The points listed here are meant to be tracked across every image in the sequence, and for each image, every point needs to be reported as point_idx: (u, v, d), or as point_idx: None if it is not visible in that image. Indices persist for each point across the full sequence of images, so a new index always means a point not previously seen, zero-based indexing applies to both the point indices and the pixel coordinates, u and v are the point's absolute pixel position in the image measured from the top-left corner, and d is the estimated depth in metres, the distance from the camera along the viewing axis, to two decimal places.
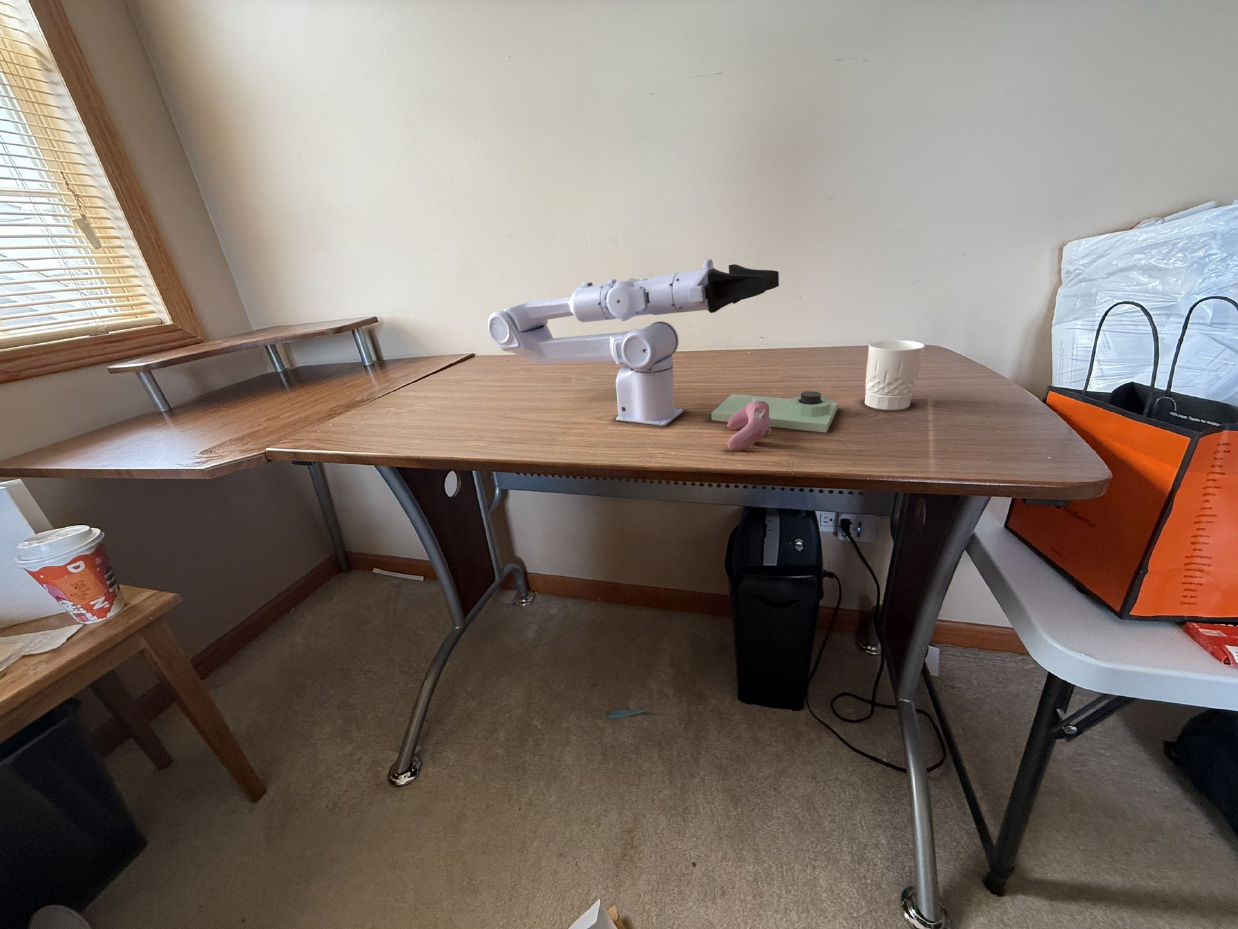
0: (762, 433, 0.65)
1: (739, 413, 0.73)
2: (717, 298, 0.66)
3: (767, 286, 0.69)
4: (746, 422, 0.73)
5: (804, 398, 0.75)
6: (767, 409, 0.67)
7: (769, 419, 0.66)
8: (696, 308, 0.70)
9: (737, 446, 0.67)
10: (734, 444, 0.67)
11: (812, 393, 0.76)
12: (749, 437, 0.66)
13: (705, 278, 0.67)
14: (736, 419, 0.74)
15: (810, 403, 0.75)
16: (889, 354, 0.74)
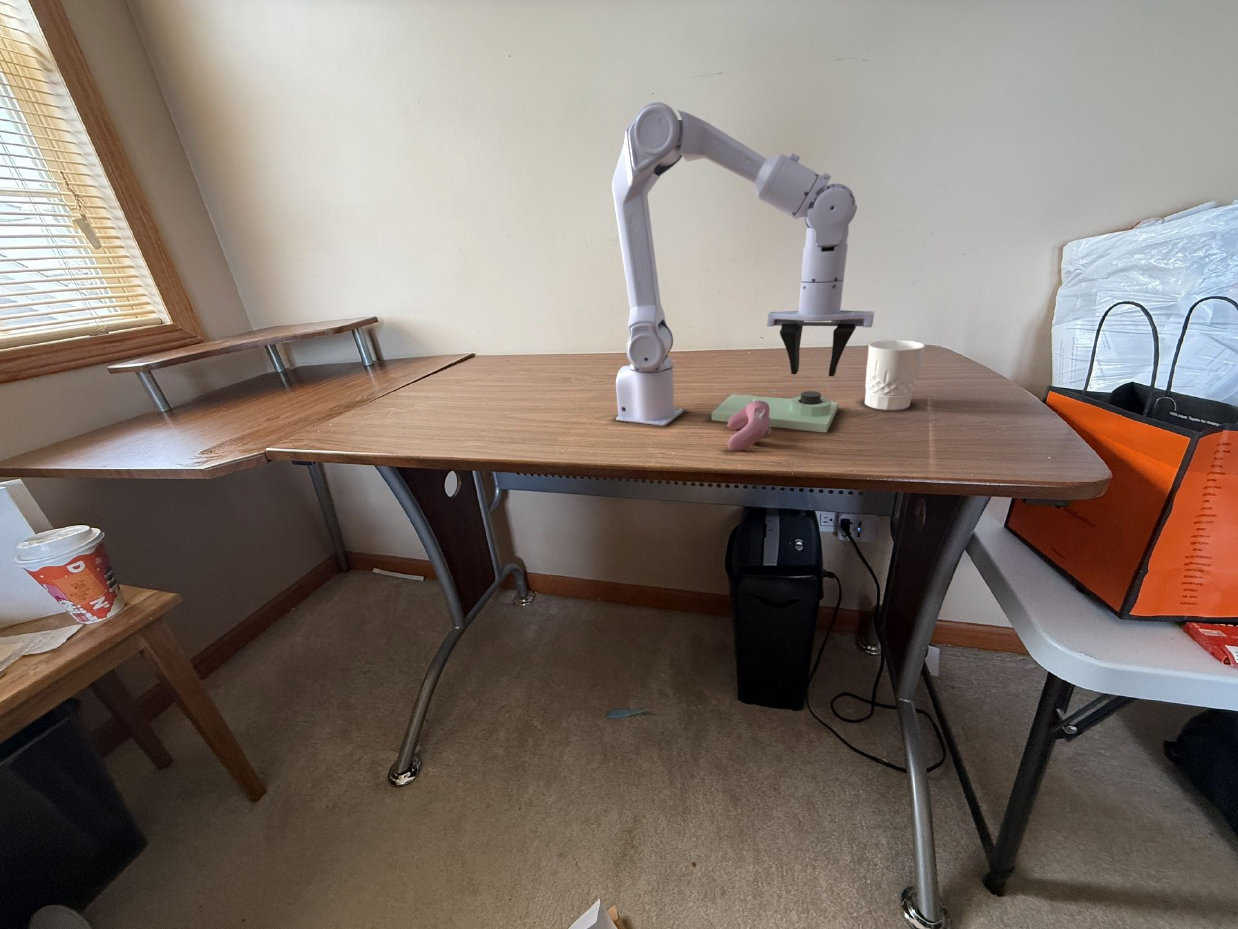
0: (762, 433, 0.65)
1: (739, 413, 0.73)
2: None
3: (796, 364, 0.74)
4: (746, 422, 0.73)
5: (804, 398, 0.75)
6: (767, 409, 0.67)
7: (769, 419, 0.66)
8: (830, 304, 0.67)
9: (737, 446, 0.67)
10: (734, 444, 0.67)
11: (812, 393, 0.76)
12: (749, 437, 0.66)
13: None
14: (736, 419, 0.74)
15: (810, 403, 0.75)
16: (889, 354, 0.74)
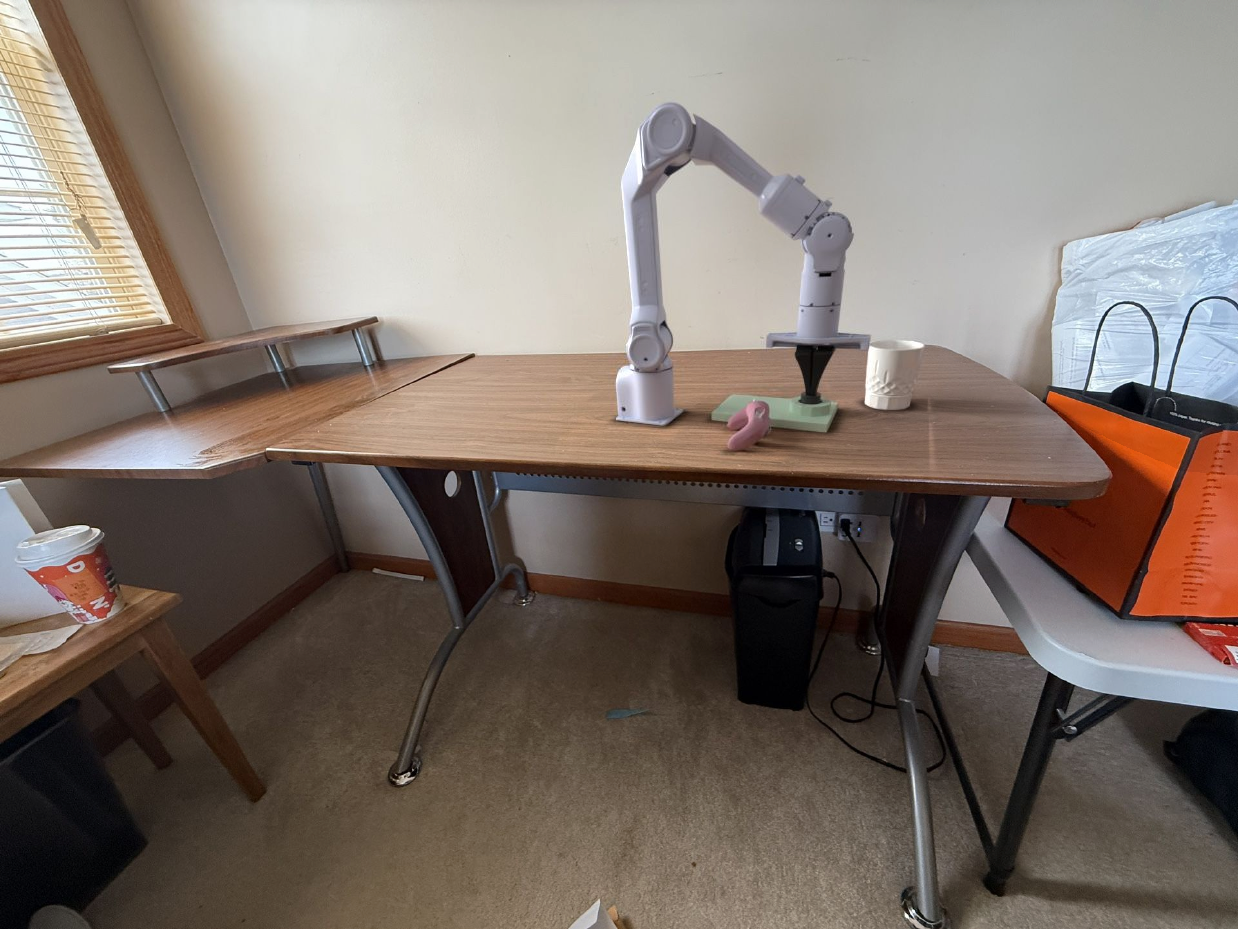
0: (762, 433, 0.65)
1: (739, 413, 0.73)
2: None
3: None
4: (746, 422, 0.73)
5: (804, 398, 0.75)
6: (767, 409, 0.67)
7: (769, 419, 0.66)
8: (827, 328, 0.69)
9: (737, 446, 0.67)
10: (734, 444, 0.67)
11: None
12: (749, 437, 0.66)
13: None
14: (736, 419, 0.74)
15: (810, 403, 0.75)
16: (889, 354, 0.74)
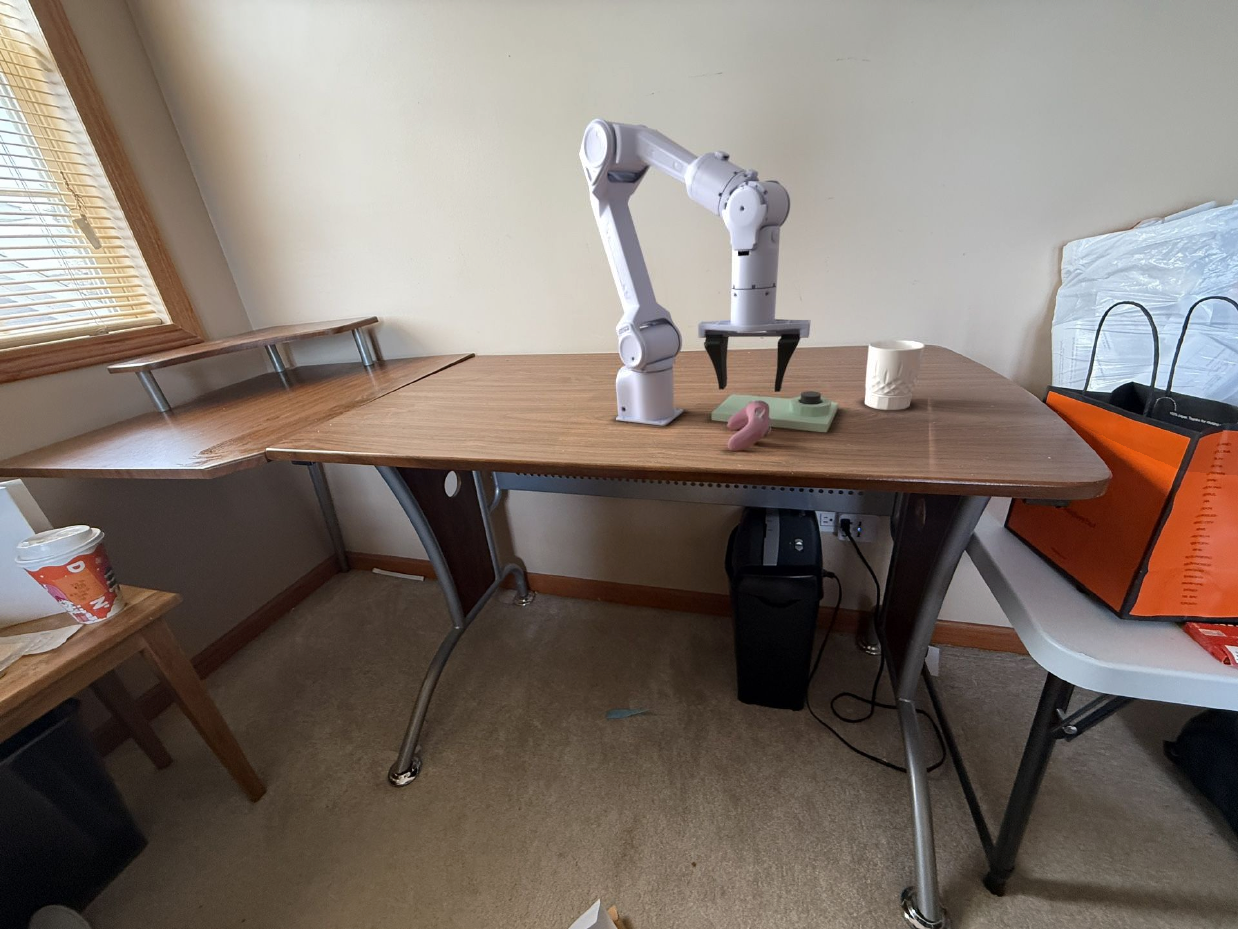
0: (762, 433, 0.65)
1: (739, 413, 0.73)
2: None
3: (723, 379, 0.68)
4: (746, 422, 0.73)
5: (804, 398, 0.75)
6: (767, 409, 0.67)
7: (769, 419, 0.66)
8: (763, 313, 0.61)
9: (737, 446, 0.67)
10: (734, 444, 0.67)
11: (812, 393, 0.76)
12: (749, 437, 0.66)
13: None
14: (736, 419, 0.74)
15: (810, 403, 0.75)
16: (889, 354, 0.74)
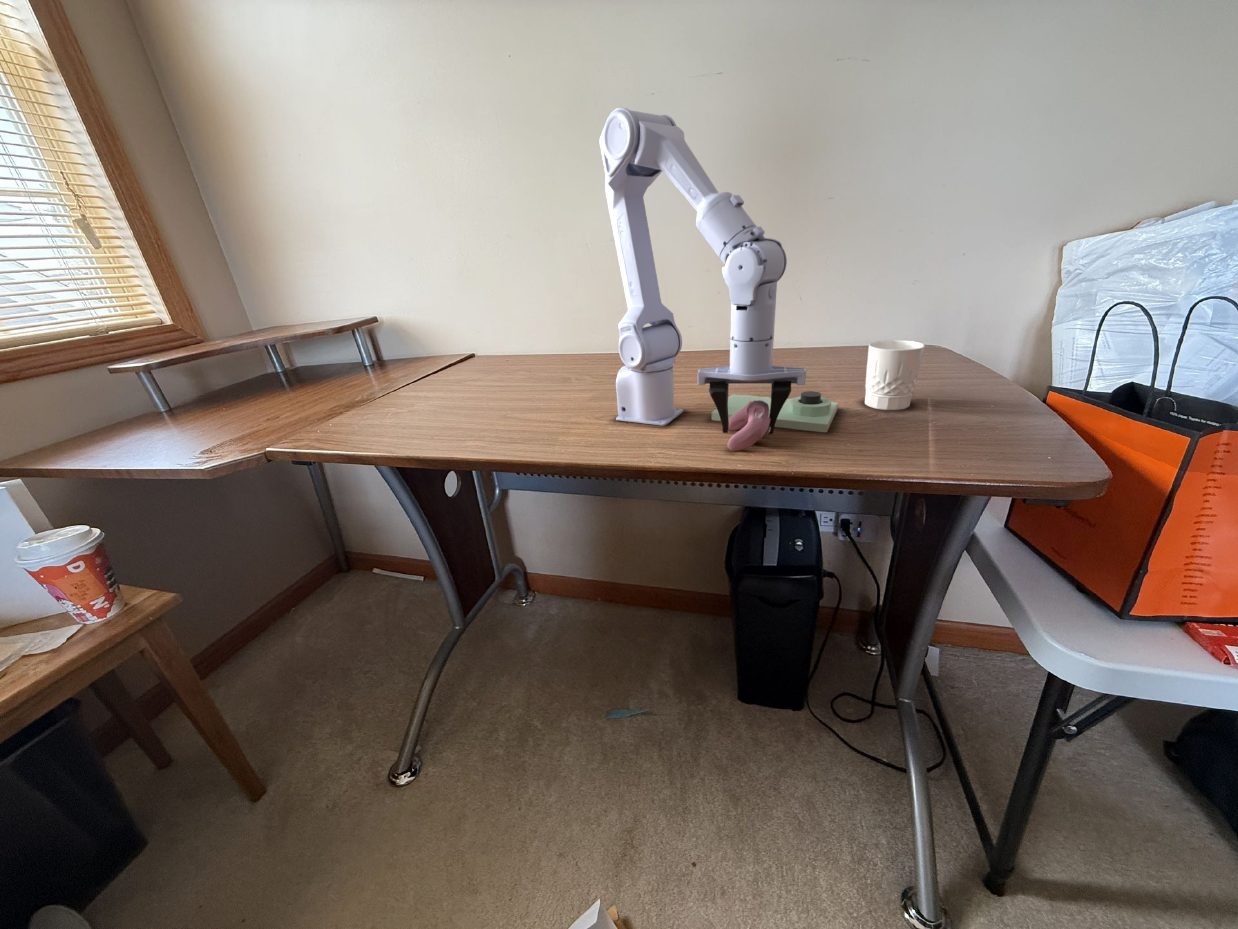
0: (762, 433, 0.65)
1: (739, 413, 0.73)
2: None
3: (727, 423, 0.70)
4: (746, 422, 0.73)
5: (804, 398, 0.75)
6: (767, 409, 0.67)
7: (769, 419, 0.66)
8: (763, 363, 0.64)
9: (736, 446, 0.67)
10: (734, 444, 0.67)
11: (812, 393, 0.76)
12: (748, 437, 0.66)
13: None
14: (736, 419, 0.74)
15: (810, 403, 0.75)
16: (889, 354, 0.74)
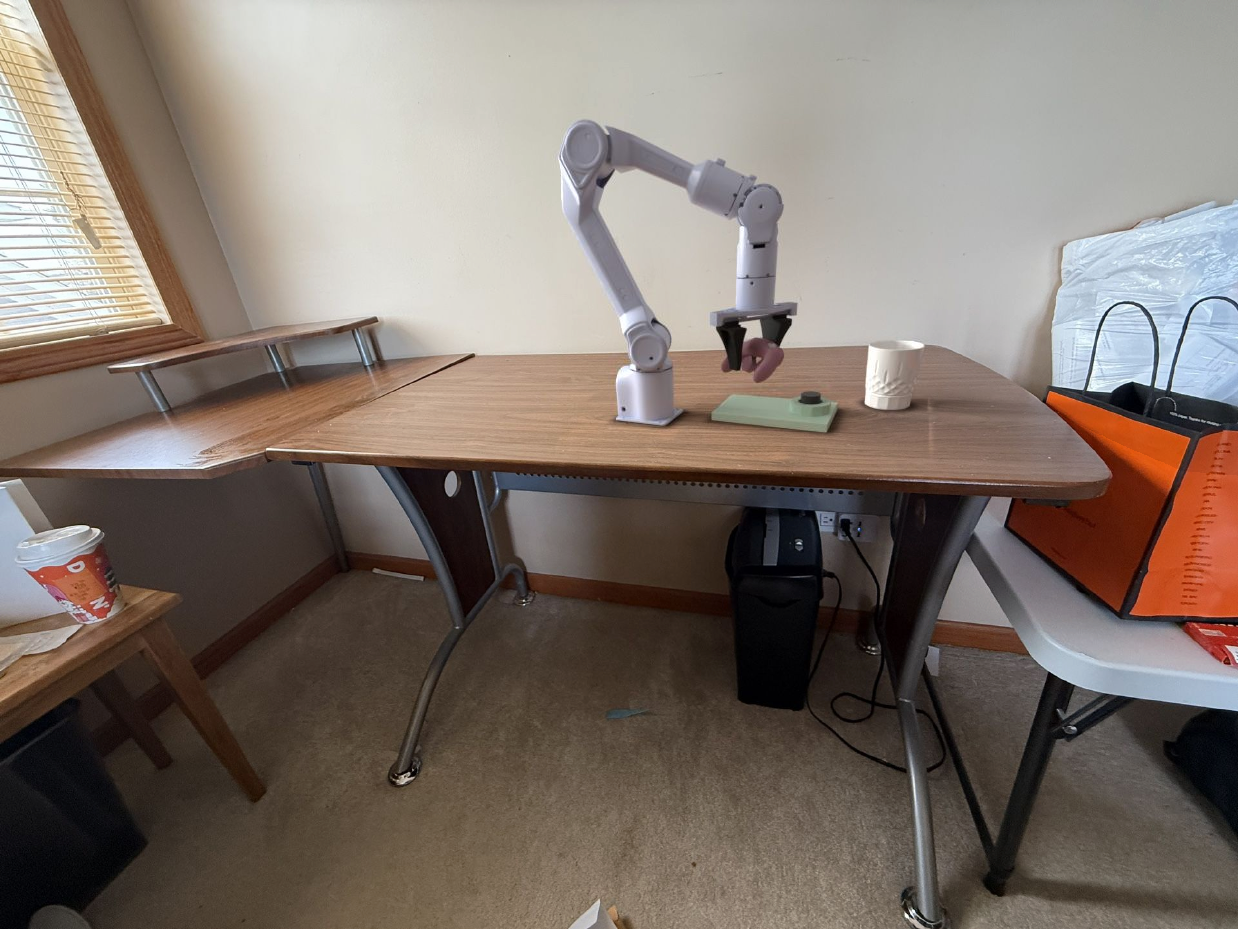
0: (780, 360, 0.73)
1: None
2: None
3: None
4: None
5: (804, 398, 0.75)
6: None
7: (780, 348, 0.74)
8: (773, 297, 0.71)
9: (763, 376, 0.73)
10: (761, 375, 0.72)
11: (812, 393, 0.76)
12: (771, 366, 0.73)
13: None
14: None
15: (810, 403, 0.75)
16: (889, 354, 0.74)
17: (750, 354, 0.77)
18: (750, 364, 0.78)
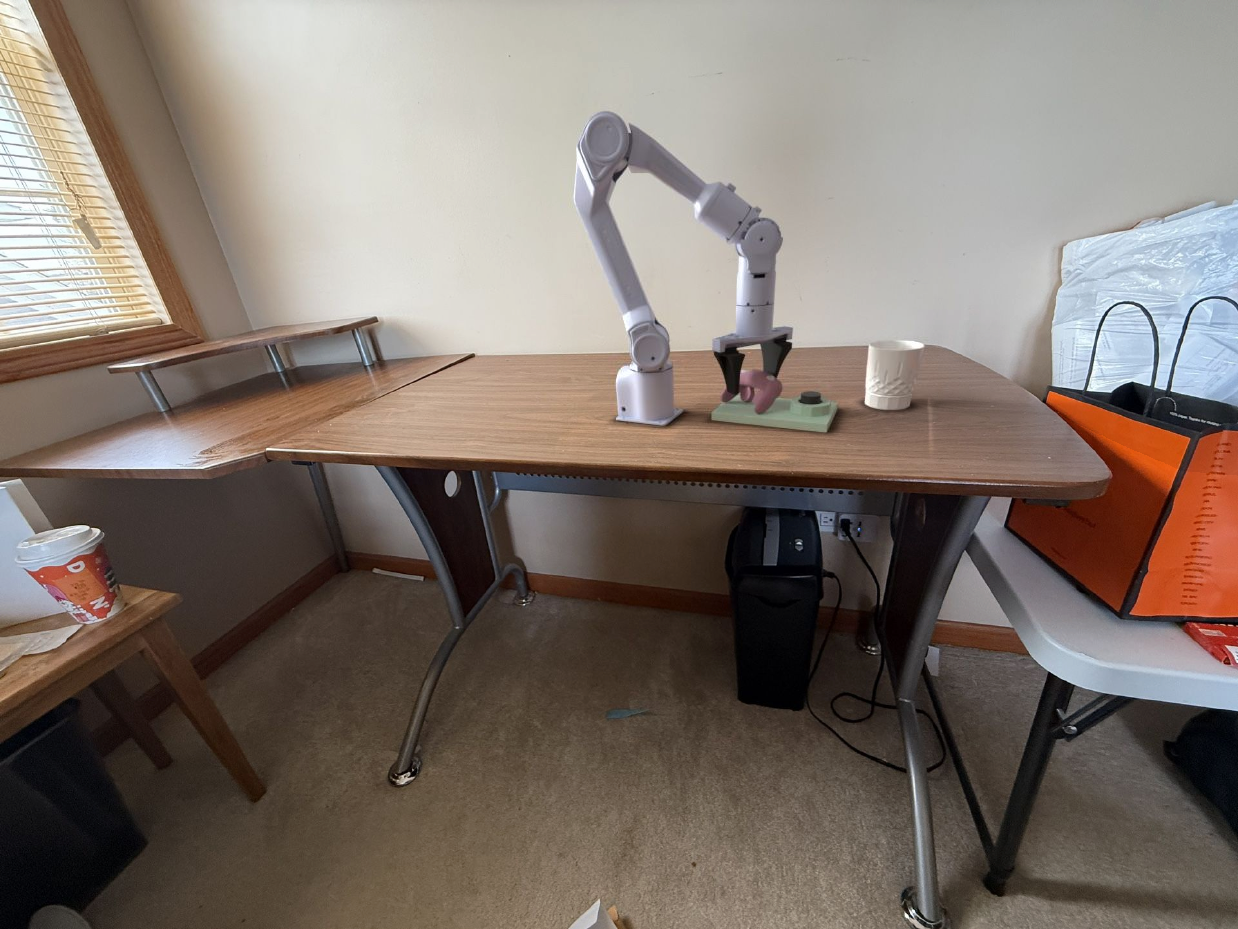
0: (779, 392, 0.77)
1: None
2: None
3: None
4: None
5: (804, 398, 0.75)
6: None
7: (778, 380, 0.78)
8: (772, 324, 0.74)
9: (763, 408, 0.76)
10: (762, 407, 0.76)
11: (812, 393, 0.76)
12: (771, 398, 0.76)
13: None
14: None
15: (810, 403, 0.75)
16: (889, 354, 0.74)
17: (749, 385, 0.81)
18: (749, 395, 0.81)
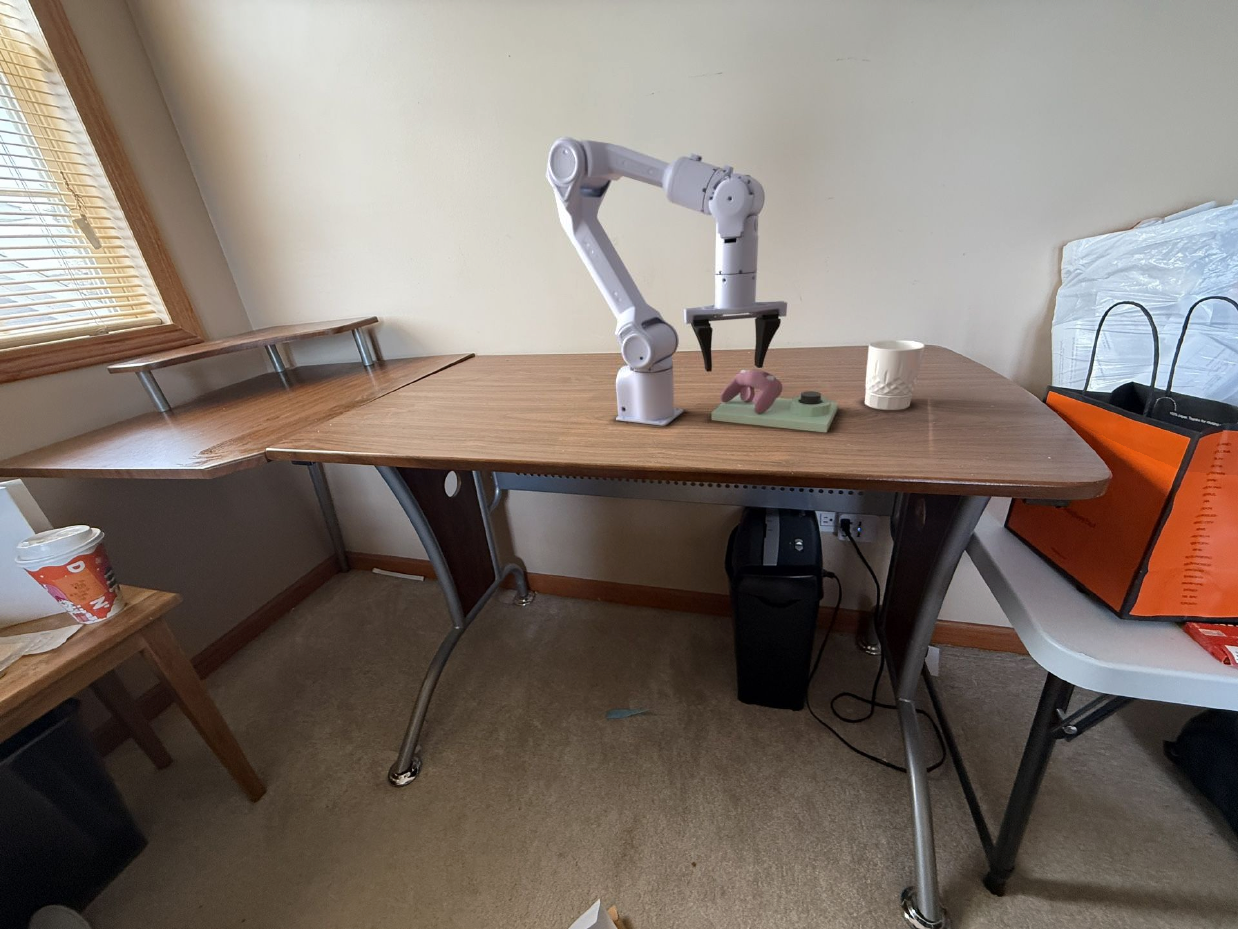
0: (779, 392, 0.77)
1: (731, 385, 0.82)
2: None
3: None
4: (737, 392, 0.83)
5: (804, 398, 0.75)
6: None
7: (778, 380, 0.78)
8: (751, 296, 0.66)
9: (763, 408, 0.76)
10: (762, 407, 0.76)
11: (812, 393, 0.76)
12: (771, 398, 0.76)
13: None
14: (729, 391, 0.82)
15: (810, 403, 0.75)
16: (889, 354, 0.74)
17: (749, 385, 0.81)
18: (749, 395, 0.81)
